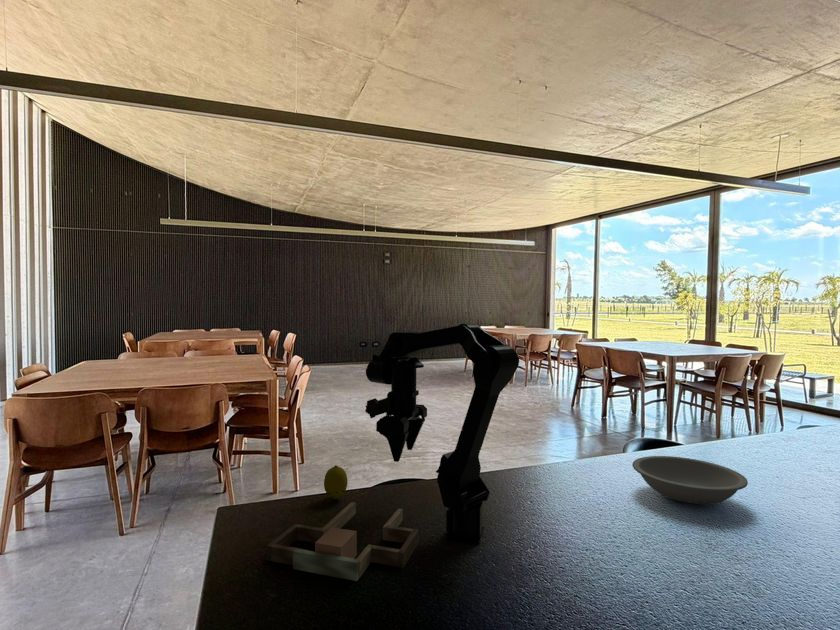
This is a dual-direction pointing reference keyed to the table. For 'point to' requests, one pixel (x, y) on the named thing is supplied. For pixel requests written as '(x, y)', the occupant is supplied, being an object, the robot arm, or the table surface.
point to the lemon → (335, 481)
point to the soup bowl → (689, 479)
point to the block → (338, 543)
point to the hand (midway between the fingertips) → (403, 455)
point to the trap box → (339, 564)
